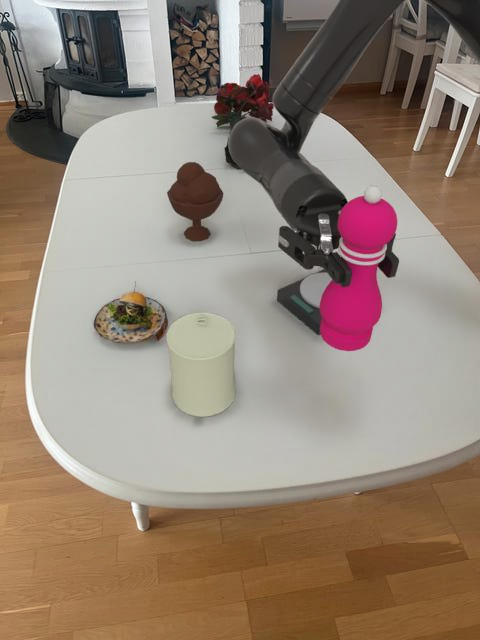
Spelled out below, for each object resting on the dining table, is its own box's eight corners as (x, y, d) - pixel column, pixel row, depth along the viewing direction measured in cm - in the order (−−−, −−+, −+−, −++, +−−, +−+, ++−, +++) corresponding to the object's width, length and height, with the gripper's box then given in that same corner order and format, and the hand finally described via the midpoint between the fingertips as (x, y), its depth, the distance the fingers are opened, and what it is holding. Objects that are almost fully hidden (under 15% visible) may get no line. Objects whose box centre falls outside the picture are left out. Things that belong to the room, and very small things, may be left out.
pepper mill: (357, 363, 61) (392, 213, 47) (304, 337, 64) (323, 189, 50) (384, 330, 65) (424, 183, 52) (334, 307, 68) (358, 163, 55)
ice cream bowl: (162, 243, 105) (155, 174, 95) (184, 216, 113) (179, 150, 103) (211, 253, 103) (209, 183, 93) (230, 225, 111) (230, 158, 101)
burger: (81, 326, 86) (72, 291, 81) (137, 294, 93) (132, 259, 88) (126, 362, 80) (119, 326, 75) (183, 325, 87) (180, 289, 82)
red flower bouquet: (247, 195, 137) (232, 135, 161) (304, 150, 130) (279, 95, 154) (207, 155, 127) (198, 98, 152) (266, 104, 120) (246, 53, 145)
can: (234, 368, 80) (234, 308, 72) (236, 416, 73) (237, 356, 65) (173, 369, 79) (167, 309, 71) (170, 418, 72) (163, 357, 64)
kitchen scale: (326, 277, 97) (328, 264, 96) (369, 308, 91) (372, 295, 89) (276, 300, 92) (277, 287, 90) (318, 335, 86) (320, 322, 84)
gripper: (255, 180, 63) (313, 258, 51) (360, 165, 66) (438, 234, 54) (253, 233, 68) (306, 315, 56) (351, 216, 71) (421, 290, 59)
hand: (371, 275), depth 55 cm, fingers closed on pepper mill, 5 cm apart
